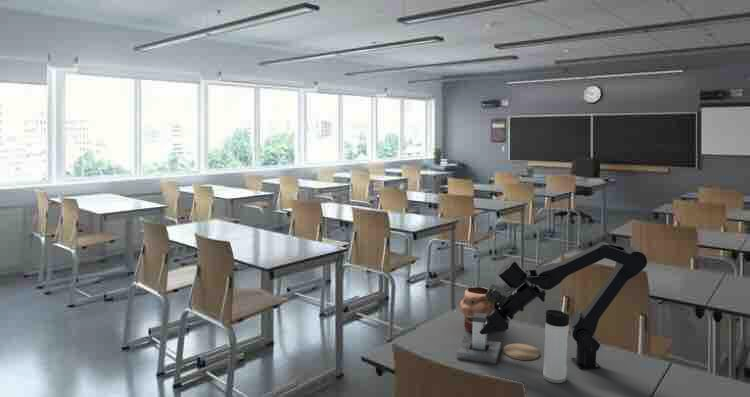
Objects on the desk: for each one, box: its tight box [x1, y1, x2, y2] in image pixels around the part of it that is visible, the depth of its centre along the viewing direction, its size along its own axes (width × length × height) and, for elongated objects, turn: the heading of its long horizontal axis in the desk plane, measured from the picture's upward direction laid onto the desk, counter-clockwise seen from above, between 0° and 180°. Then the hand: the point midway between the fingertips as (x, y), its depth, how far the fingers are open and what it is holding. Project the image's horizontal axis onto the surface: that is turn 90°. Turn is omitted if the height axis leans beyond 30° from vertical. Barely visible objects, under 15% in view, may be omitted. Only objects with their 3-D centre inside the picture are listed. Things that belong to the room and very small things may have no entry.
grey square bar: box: [471, 313, 488, 352], centre depth 170 cm, size 4×4×12 cm
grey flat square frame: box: [456, 337, 502, 365], centre depth 171 cm, size 12×12×2 cm
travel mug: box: [542, 309, 570, 384], centre depth 153 cm, size 6×7×20 cm
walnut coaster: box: [503, 342, 541, 361], centre depth 171 cm, size 11×11×1 cm
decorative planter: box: [459, 286, 495, 332], centre depth 191 cm, size 20×12×14 cm, turn 142°
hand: (482, 327), depth 169 cm, fingers open, 9 cm apart
